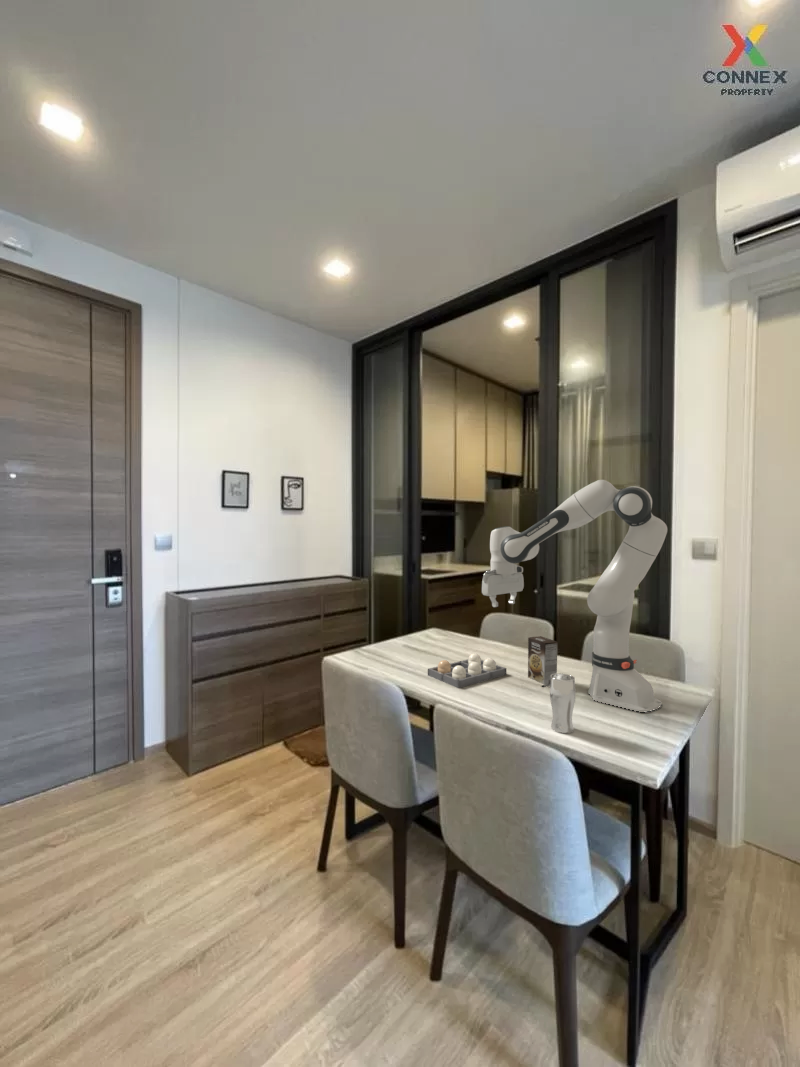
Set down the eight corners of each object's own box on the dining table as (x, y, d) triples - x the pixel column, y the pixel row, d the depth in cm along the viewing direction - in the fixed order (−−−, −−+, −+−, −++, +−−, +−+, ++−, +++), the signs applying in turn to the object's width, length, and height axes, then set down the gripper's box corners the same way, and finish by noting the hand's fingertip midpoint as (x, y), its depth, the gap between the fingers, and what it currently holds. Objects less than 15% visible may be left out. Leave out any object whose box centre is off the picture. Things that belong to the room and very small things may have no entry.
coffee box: (527, 679, 174) (527, 637, 174) (540, 677, 177) (540, 635, 176) (544, 687, 166) (544, 642, 165) (557, 684, 168) (558, 641, 168)
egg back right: (483, 668, 183) (483, 654, 183) (474, 671, 181) (474, 656, 180) (474, 665, 188) (474, 651, 187) (465, 668, 185) (465, 653, 184)
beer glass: (569, 723, 136) (569, 672, 135) (579, 734, 129) (579, 680, 128) (545, 723, 135) (546, 673, 135) (554, 734, 128) (555, 681, 128)
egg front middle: (484, 678, 172) (484, 662, 172) (474, 680, 169) (474, 664, 169) (474, 674, 176) (474, 659, 176) (465, 677, 173) (465, 661, 173)
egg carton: (506, 677, 177) (506, 668, 176) (458, 690, 162) (458, 681, 162) (474, 666, 190) (474, 657, 190) (427, 677, 176) (427, 668, 176)
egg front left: (468, 682, 168) (468, 666, 168) (458, 685, 165) (458, 668, 165) (459, 678, 172) (459, 662, 172) (449, 681, 169) (449, 665, 169)
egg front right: (498, 674, 177) (498, 658, 177) (489, 676, 174) (490, 661, 174) (489, 670, 181) (489, 655, 181) (480, 673, 178) (480, 657, 178)
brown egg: (453, 676, 174) (453, 660, 174) (443, 679, 171) (443, 663, 171) (444, 673, 178) (445, 657, 178) (435, 675, 175) (435, 659, 175)
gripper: (489, 571, 167) (491, 609, 167) (526, 567, 179) (527, 603, 179) (477, 570, 172) (478, 607, 172) (513, 567, 185) (514, 601, 184)
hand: (503, 605), depth 176 cm, fingers open, 8 cm apart
